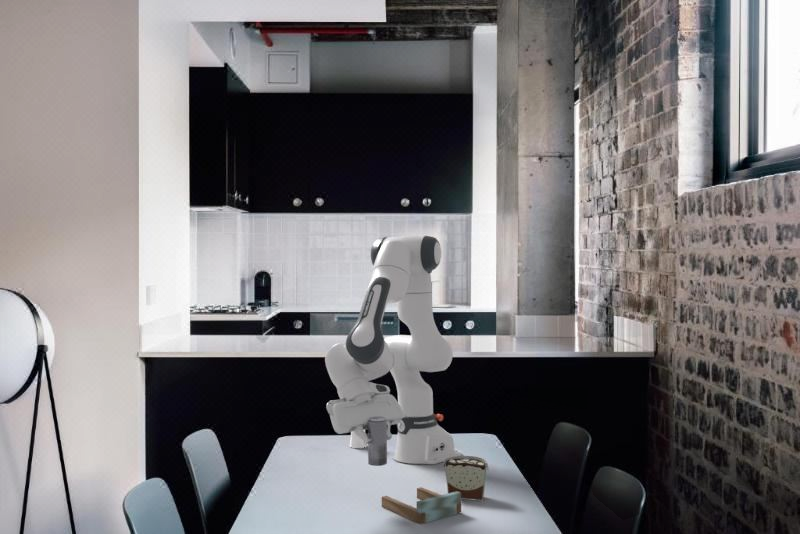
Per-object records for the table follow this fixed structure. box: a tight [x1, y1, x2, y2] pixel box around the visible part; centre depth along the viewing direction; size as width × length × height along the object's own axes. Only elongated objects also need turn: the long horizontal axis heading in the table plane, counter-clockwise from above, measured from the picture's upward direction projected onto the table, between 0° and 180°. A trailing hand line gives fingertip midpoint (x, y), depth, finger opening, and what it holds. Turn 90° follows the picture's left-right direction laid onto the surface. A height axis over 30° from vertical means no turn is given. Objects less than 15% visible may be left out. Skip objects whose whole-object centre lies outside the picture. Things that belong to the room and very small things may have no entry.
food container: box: [442, 455, 489, 501], centre depth 199 cm, size 12×6×10 cm, turn 71°
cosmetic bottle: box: [348, 429, 368, 449], centre depth 252 cm, size 6×6×22 cm
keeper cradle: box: [381, 486, 462, 525], centre depth 188 cm, size 13×16×5 cm
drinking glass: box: [367, 416, 388, 467], centre depth 190 cm, size 5×5×12 cm
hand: (378, 440), depth 190 cm, fingers closed on drinking glass, 5 cm apart
